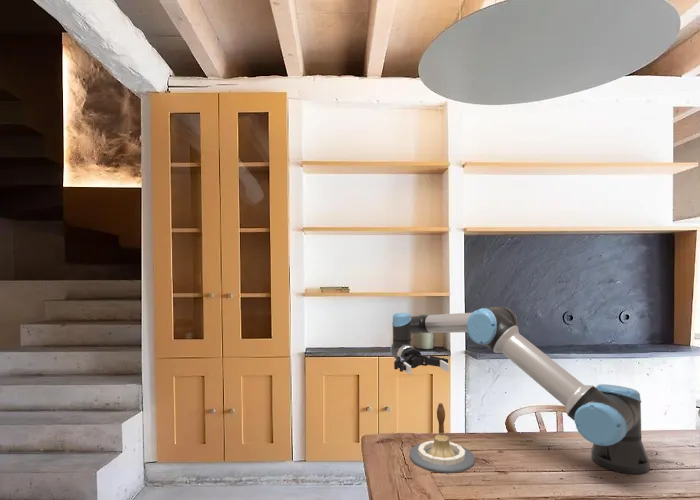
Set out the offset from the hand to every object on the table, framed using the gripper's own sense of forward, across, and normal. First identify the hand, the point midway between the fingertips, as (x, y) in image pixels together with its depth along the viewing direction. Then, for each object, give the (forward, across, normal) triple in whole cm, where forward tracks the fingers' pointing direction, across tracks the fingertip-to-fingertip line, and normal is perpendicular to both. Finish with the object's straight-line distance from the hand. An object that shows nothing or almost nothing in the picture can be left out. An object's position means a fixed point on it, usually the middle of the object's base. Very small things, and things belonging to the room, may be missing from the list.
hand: (429, 369), depth 147 cm
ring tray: (+10, 0, -26) cm, 27 cm away
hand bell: (+10, 0, -25) cm, 26 cm away
